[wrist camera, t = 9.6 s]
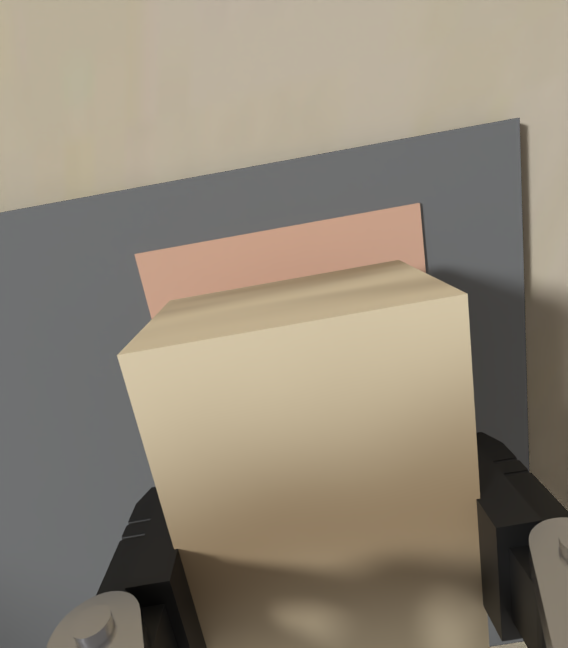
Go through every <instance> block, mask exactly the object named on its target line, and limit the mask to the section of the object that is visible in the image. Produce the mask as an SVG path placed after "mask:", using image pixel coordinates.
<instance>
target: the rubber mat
mask: <svg viewBox="0 0 568 648" xmlns="http://www.w3.org/2000/svg"><path fill="white" fill-rule="evenodd" d="M395 260H400V261H402V262H404V263H406V264H408V265H410V266H412V267H414V268H416V269H419V270H421V271H423V272H425V273H427V274H429V275H431V276H433V277H435V278H437V279H439V280H441V281H443V282H445V283H447V284H449V285H451V286H453V287H455V288H457V289H459V290H461V291H463V292H465V293H467V294H468V308H469V324H470V340H471V356H472V373H473V389H474V405H475V421H476V433H478V432H483V433H485V434H487V435H489V436H491V437H493V438H495V439H497V440H499V441H501V442H503V443H504V444H505V446H506V447H507V448H508V449H509V450H510V451H511V452H512V453H513V454H514V455H515V456H516V458H517V460H520V461H521V462H522V464H523V465H524V466H525V467H526V468H527V469H528V471H529V443H528V406H527V370H526V333H525V297H524V260H523V224H522V187H521V151H520V118H515V119H509V120H504V121H498V122H493V123H487V124H482V125H476V126H471V127H465V128H460V129H454V130H449V131H444V132H438V133H433V134H427V135H422V136H416V137H411V138H405V139H400V140H394V141H389V142H383V143H378V144H373V145H367V146H362V147H356V148H351V149H345V150H340V151H334V152H329V153H323V154H318V155H312V156H307V157H302V158H296V159H291V160H285V161H280V162H274V163H269V164H263V165H258V166H252V167H247V168H241V169H236V170H231V171H225V172H220V173H214V174H209V175H203V176H198V177H192V178H187V179H181V180H176V181H171V182H165V183H160V184H154V185H149V186H143V187H138V188H132V189H127V190H121V191H116V192H110V193H105V194H100V195H94V196H89V197H83V198H78V199H72V200H67V201H61V202H56V203H50V204H45V205H39V206H34V207H29V208H23V209H18V210H12V211H7V212H1V213H0V648H47V644H48V641H49V639H50V637H51V635H52V633H53V631H54V630H55V628H56V627H57V626H58V624H59V623H60V622H61V621H62V620H63V618H64V617H65V616H66V615H67V614H68V613H70V612H71V611H72V610H73V609H74V608H76V607H77V606H78V605H80V604H81V603H83V602H84V601H86V600H88V599H90V598H92V597H94V596H96V594H97V592H98V590H99V587H100V585H101V583H102V580H103V578H104V576H105V574H106V571H107V569H108V567H109V564H110V562H111V560H112V558H113V555H114V553H115V551H116V548H117V546H118V544H119V542H120V541H121V540H122V535H123V532H124V530H125V528H126V526H127V525H128V521H129V519H130V516H131V514H132V512H133V510H134V507H135V505H136V503H137V502H138V501H139V500H140V499H141V498H142V497H143V496H144V495H145V494H146V493H147V492H148V491H149V490H150V489H151V487H156V486H155V483H154V479H153V476H152V473H151V469H150V466H149V462H148V459H147V456H146V452H145V449H144V445H143V442H142V439H141V435H140V432H139V428H138V425H137V422H136V418H135V415H134V412H133V408H132V405H131V401H130V398H129V395H128V391H127V388H126V384H125V381H124V378H123V374H122V371H121V367H120V364H119V361H118V357H117V355H118V354H119V353H120V352H121V351H122V350H123V348H124V347H125V346H126V345H127V344H128V343H129V342H130V341H131V340H132V339H133V338H134V337H135V336H136V335H137V334H138V333H139V332H140V331H141V330H142V329H143V328H144V327H145V326H146V325H147V324H148V323H149V322H150V321H151V320H152V319H153V318H154V316H155V315H156V314H157V313H158V312H159V311H160V310H161V309H162V308H163V307H164V306H165V305H166V304H167V303H168V302H169V301H170V300H175V299H181V298H186V297H192V296H197V295H203V294H209V293H214V292H220V291H226V290H231V289H237V288H243V287H248V286H254V285H259V284H265V283H271V282H276V281H282V280H288V279H293V278H299V277H305V276H310V275H316V274H321V273H327V272H333V271H338V270H344V269H350V268H355V267H361V266H367V265H372V264H378V263H383V262H389V261H395ZM488 630H489V646H490V647H491V646H497V645H503V644H509V643H516V642H522V641H524V640H523V638H521V639H515V640H509V641H501V639H500V637H499V635H498V633H497V631H496V629H495V627H494V625H493V623H492V621H491V620H490V618H489V616H488Z"/></svg>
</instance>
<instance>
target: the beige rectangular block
mask: <svg viewBox="0 0 568 648" xmlns="http://www.w3.org/2000/svg"><path fill="white" fill-rule="evenodd" d="M117 357H118V361H119V364H120V367H121V371H122V374H123V378H124V381H125V384H126V388H127V391H128V395H129V398H130V401H131V405H132V408H133V412H134V415H135V418H136V422H137V425H138V428H139V432H140V435H141V439H142V442H143V445H144V449H145V452H146V456H147V459H148V462H149V466H150V469H151V473H152V476H153V479H154V483H155V486H156V490H157V493H158V496H159V500H160V503H161V507H162V510H163V513H164V517H165V520H166V524H167V527H168V530H169V534H170V537H171V541H172V544H173V547H174V549H178V551H179V554H180V557H181V561H182V564H183V568H184V571H185V575H186V578H187V581H188V585H189V588H190V592H191V595H192V599H193V602H194V605H195V609H196V612H197V616H198V619H199V623H200V626H201V629H202V633H203V636H204V640H205V643H206V647H207V648H490V646H489V630H488V614H487V612H486V610H485V608H484V606H483V594H482V578H481V563H480V548H479V532H478V517H477V502H476V499H480V485H479V469H478V453H477V437H476V421H475V405H474V389H473V373H472V356H471V340H470V324H469V308H468V294H467V293H465V292H463V291H461V290H459V289H457V288H455V287H453V286H451V285H449V284H447V283H445V282H443V281H441V280H439V279H437V278H435V277H433V276H431V275H429V274H427V273H425V272H423V271H421V270H419V269H416V268H414V267H412V266H410V265H408V264H406V263H404V262H402V261H400V260H395V261H389V262H383V263H378V264H372V265H367V266H361V267H355V268H350V269H344V270H338V271H333V272H327V273H321V274H316V275H310V276H305V277H299V278H293V279H288V280H282V281H276V282H271V283H265V284H259V285H254V286H248V287H243V288H237V289H231V290H226V291H220V292H214V293H209V294H203V295H197V296H192V297H186V298H181V299H175V300H170V301H169V302H168V303H167V304H166V305H165V306H164V307H163V308H162V309H161V310H160V311H159V312H158V313H157V314H156V315H155V316H154V318H153V319H152V320H151V321H150V322H149V323H148V324H147V325H146V326H145V327H144V328H143V329H142V330H141V331H140V332H139V333H138V334H137V335H136V336H135V337H134V338H133V339H132V340H131V341H130V342H129V343H128V344H127V345H126V346H125V347H124V348H123V350H122V351H121V352H120V353H119V354H118V355H117Z"/></svg>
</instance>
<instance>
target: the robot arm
mask: <svg viewBox="0 0 568 648" xmlns="http://www.w3.org/2000/svg"><path fill="white" fill-rule="evenodd" d="M476 437H477V453H478V469H479V485H480V499H476V502H477V517H478V532H479V548H480V563H481V578H482V594H483V606H484V608H485V610H486V612H487V614H488V616H489V618H490V620H491V621H492V623H493V625H494V627H495V629H496V631H497V633H498V635H499V637H500V639H501V641H509V640H515V639H521V638H523V640H524V642H525V644H526V645H527V647H528V648H568V511H567V510H566V509H565V508H564V507H563V506H562V505H561V504H560V503H559V502H558V501H557V500H556V498H555V497H554V496H553V495H552V494H551V493H550V492H549V491H548V490H547V489H546V488H545V487H544V486H543V485H542V484H541V483H540V482H539V480H538V479H537V478H536V477H535V476H534V475H533V474H532V473H529V471H528V469H527V468H526V467H525V466H524V465H523V464H522V462H521V461H520V460H517V458H516V456H515V455H514V454H513V453H512V452H511V451H510V450H509V449H508V448H507V447H506V446H505V444H504V443H503V442H501V441H499V440H497V439H495V438H493V437H491V436H489V435H487V434H485V433H483V432H478V433H476ZM47 648H207V647H206V643H205V640H204V636H203V633H202V629H201V626H200V623H199V619H198V616H197V612H196V609H195V605H194V602H193V599H192V595H191V592H190V588H189V585H188V581H187V578H186V575H185V571H184V568H183V564H182V561H181V557H180V554H179V551H178V549H174V547H173V544H172V541H171V537H170V534H169V530H168V527H167V524H166V520H165V517H164V513H163V510H162V507H161V503H160V500H159V496H158V493H157V490H156V487H151V489H150V490H149V491H148V492H147V493H146V494H145V495H144V496H143V497H142V498H141V499H140V500H139V501H138V502H137V503H136V505H135V507H134V510H133V512H132V514H131V516H130V519H129V521H128V525H127V526H126V528H125V530H124V532H123V535H122V540H121V541H120V542H119V544H118V546H117V548H116V551H115V553H114V555H113V558H112V560H111V562H110V564H109V567H108V569H107V571H106V574H105V576H104V578H103V580H102V583H101V585H100V587H99V590H98V592H97V594H96V596H94V597H92V598H90V599H88V600H86V601H84V602H83V603H81V604H80V605H78V606H77V607H76V608H74V609H73V610H72V611H71V612H70V613H68V614H67V615H66V616H65V617H64V618H63V620H62V621H61V622H60V623H59V624H58V626H57V627H56V628H55V630H54V631H53V633H52V635H51V637H50V639H49V641H48V644H47Z"/></svg>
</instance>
